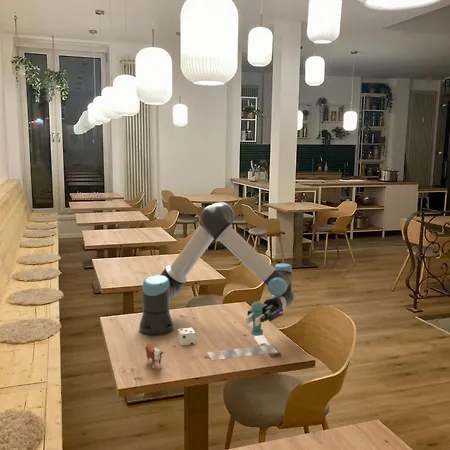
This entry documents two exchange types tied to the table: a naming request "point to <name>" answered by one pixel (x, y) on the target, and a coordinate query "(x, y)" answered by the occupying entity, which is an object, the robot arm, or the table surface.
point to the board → (245, 352)
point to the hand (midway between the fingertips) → (251, 321)
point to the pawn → (256, 312)
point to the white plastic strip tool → (261, 340)
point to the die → (186, 336)
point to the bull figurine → (153, 355)
